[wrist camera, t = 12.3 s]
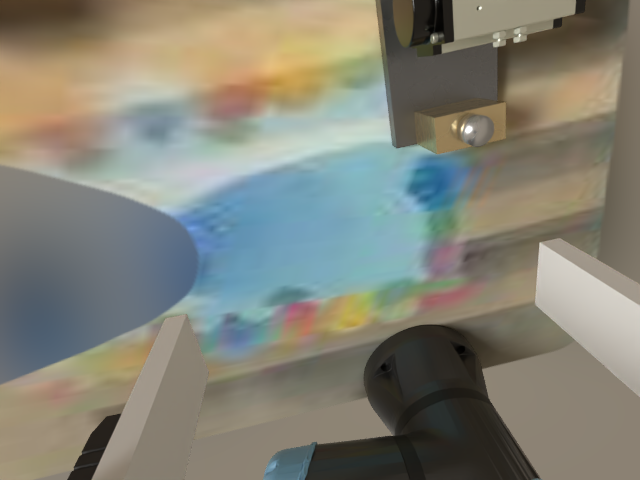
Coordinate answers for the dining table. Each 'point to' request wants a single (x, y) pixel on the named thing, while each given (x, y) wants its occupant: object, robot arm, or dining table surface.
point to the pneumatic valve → (475, 22)
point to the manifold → (440, 93)
